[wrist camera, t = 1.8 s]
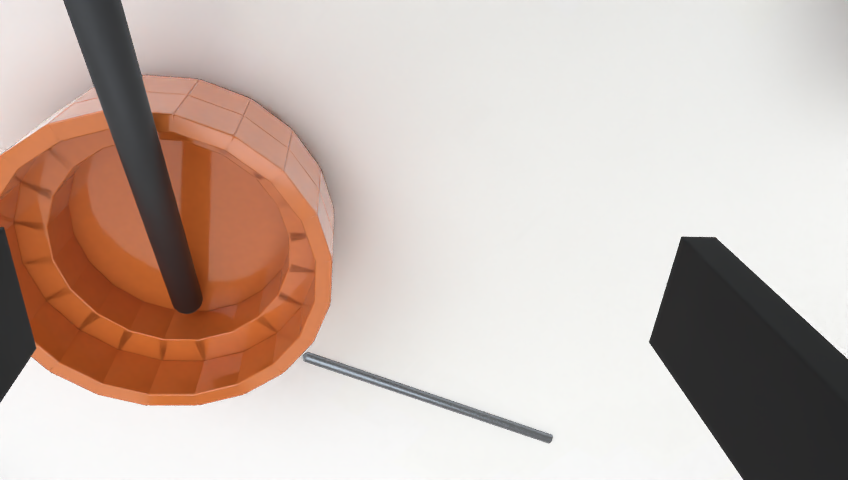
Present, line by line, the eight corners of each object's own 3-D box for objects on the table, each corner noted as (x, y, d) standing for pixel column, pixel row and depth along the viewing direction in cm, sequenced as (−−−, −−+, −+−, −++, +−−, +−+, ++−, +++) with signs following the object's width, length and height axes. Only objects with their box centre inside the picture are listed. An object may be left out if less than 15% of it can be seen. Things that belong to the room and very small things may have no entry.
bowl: (-2, 60, 29) (-77, 97, 24) (339, 85, 31) (338, 124, 26) (55, 332, 37) (8, 406, 31) (328, 336, 39) (326, 406, 34)
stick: (134, -99, 26) (29, -84, 17) (175, -95, 26) (92, -77, 17) (176, 302, 36) (123, 440, 27) (205, 303, 36) (162, 440, 27)
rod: (305, 347, 39) (304, 355, 39) (551, 431, 46) (553, 439, 45) (301, 354, 40) (300, 362, 39) (545, 437, 46) (547, 445, 45)
